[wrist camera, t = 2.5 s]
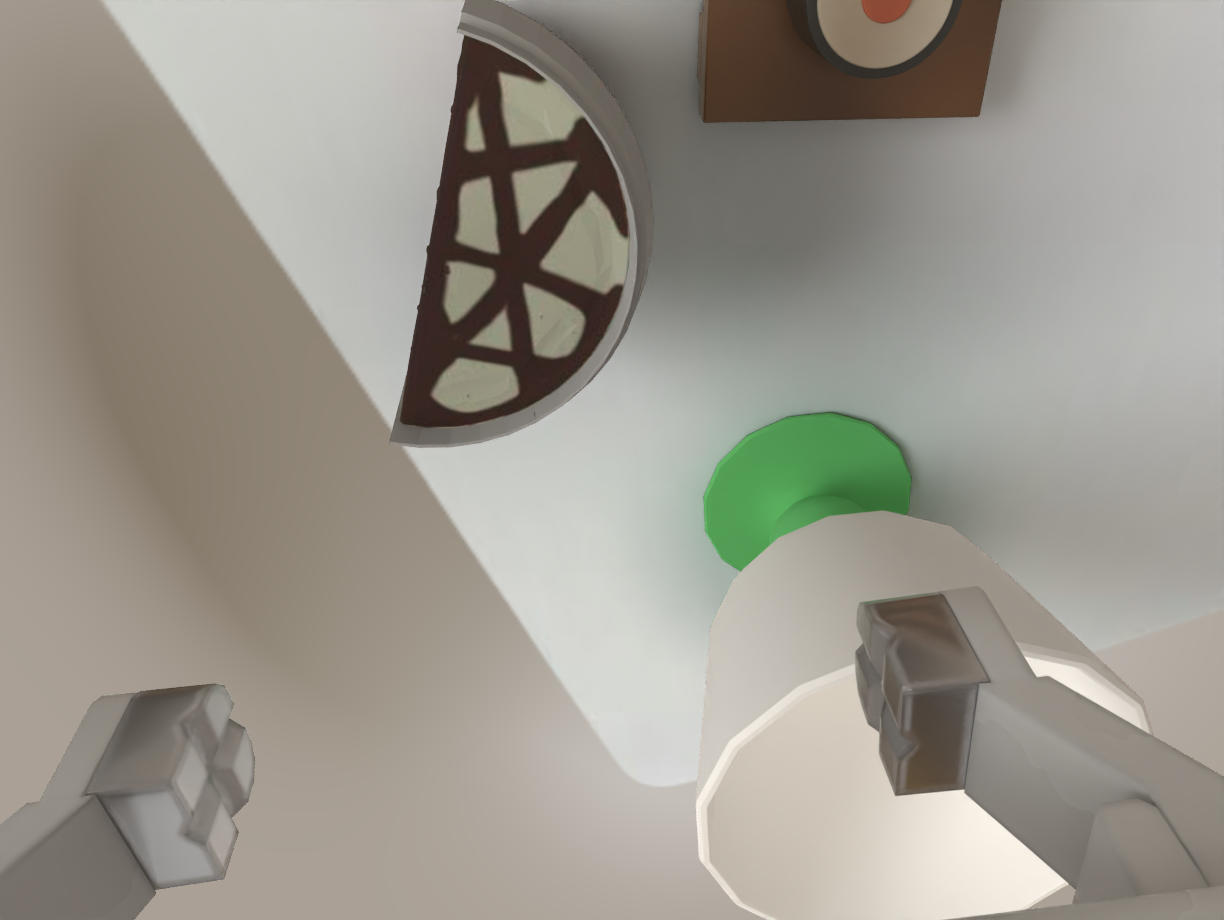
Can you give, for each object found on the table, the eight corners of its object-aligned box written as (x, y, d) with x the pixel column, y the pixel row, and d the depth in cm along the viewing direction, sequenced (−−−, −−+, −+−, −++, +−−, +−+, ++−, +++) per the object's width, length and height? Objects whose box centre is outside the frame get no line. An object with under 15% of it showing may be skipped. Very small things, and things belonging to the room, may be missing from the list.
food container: (584, 349, 37) (593, 498, 29) (424, 314, 36) (385, 460, 28) (677, 10, 31) (724, 75, 22) (487, -45, 30) (461, 2, 21)
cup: (976, 578, 44) (1157, 893, 31) (690, 649, 46) (746, 978, 33) (949, 319, 37) (1170, 586, 24) (610, 414, 39) (639, 714, 25)
